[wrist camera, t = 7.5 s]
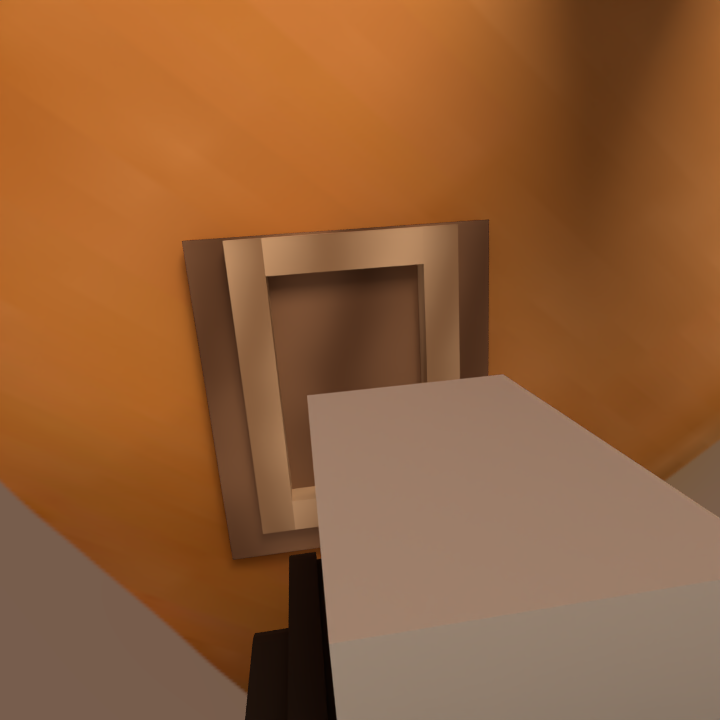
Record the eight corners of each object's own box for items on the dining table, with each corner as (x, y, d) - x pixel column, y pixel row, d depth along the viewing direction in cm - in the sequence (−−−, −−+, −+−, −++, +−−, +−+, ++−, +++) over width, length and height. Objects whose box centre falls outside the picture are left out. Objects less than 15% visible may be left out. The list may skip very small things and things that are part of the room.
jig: (479, 220, 24) (499, 218, 22) (479, 512, 28) (496, 537, 26) (187, 240, 22) (175, 241, 20) (235, 545, 27) (230, 575, 25)
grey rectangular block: (503, 374, 10) (794, 567, 4) (500, 725, 12) (682, 1154, 7) (307, 395, 9) (328, 643, 4) (343, 755, 12) (391, 1245, 6)
